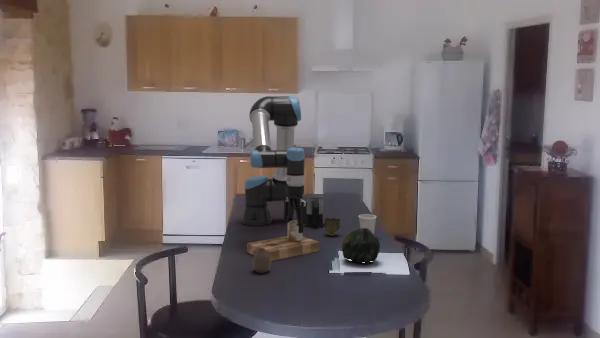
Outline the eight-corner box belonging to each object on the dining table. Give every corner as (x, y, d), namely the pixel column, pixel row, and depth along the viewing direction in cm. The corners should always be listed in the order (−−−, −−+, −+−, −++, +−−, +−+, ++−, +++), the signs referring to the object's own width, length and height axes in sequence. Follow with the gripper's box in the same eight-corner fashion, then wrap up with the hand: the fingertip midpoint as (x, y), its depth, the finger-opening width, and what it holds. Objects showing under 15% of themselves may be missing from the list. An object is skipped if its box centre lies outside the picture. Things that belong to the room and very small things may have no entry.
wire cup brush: (338, 238, 288) (339, 220, 287) (322, 237, 289) (323, 220, 288) (340, 234, 295) (341, 217, 294) (325, 233, 297) (325, 216, 296)
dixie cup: (363, 234, 296) (364, 213, 294) (379, 236, 291) (380, 215, 289) (354, 237, 289) (355, 216, 287) (370, 240, 284) (371, 218, 283)
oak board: (247, 252, 262) (247, 243, 261) (296, 243, 278) (296, 234, 277) (269, 261, 250) (269, 251, 249) (319, 250, 266) (319, 241, 265)
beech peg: (286, 247, 268) (286, 221, 266) (295, 246, 271) (296, 220, 269) (293, 250, 264) (293, 223, 262) (303, 248, 267) (303, 222, 265)
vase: (252, 268, 239) (252, 246, 238) (270, 268, 240) (270, 246, 239) (252, 274, 233) (252, 251, 231) (271, 274, 233) (271, 251, 232)
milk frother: (302, 224, 315) (302, 195, 313) (330, 221, 321) (330, 193, 319) (313, 230, 302) (313, 200, 300) (342, 227, 308) (343, 198, 306)
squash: (341, 241, 260) (343, 220, 248) (377, 243, 259) (381, 222, 248) (340, 271, 250) (343, 251, 239) (378, 273, 250) (382, 253, 239)
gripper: (275, 182, 268) (274, 235, 272) (302, 188, 254) (301, 244, 257) (289, 181, 273) (288, 233, 276) (316, 186, 259) (315, 241, 262)
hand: (294, 238), depth 267 cm, fingers open, 5 cm apart
